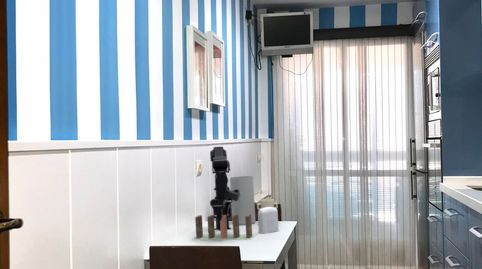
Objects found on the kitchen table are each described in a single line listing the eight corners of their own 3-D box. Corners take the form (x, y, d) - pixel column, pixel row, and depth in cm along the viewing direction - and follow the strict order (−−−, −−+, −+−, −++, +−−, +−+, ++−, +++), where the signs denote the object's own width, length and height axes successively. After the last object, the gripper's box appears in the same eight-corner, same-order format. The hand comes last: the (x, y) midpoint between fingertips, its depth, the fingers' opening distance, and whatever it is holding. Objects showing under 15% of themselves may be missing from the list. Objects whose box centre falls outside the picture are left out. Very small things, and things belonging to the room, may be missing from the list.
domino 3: (233, 238, 231) (232, 216, 232) (236, 236, 236) (235, 214, 236) (236, 238, 231) (235, 216, 231) (239, 236, 236) (238, 214, 236)
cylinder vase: (244, 220, 284) (242, 176, 284) (260, 222, 275) (257, 176, 275) (227, 224, 275) (225, 178, 276) (243, 226, 266) (240, 178, 266)
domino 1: (196, 238, 236) (195, 217, 236) (199, 236, 241) (198, 215, 241) (199, 238, 236) (198, 217, 236) (203, 236, 240) (201, 215, 240)
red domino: (221, 238, 233) (219, 216, 233) (224, 236, 238) (222, 214, 238) (224, 238, 233) (223, 216, 233) (227, 236, 237) (226, 214, 238)
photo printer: (274, 230, 247) (273, 205, 247) (280, 231, 244) (278, 206, 244) (257, 234, 241) (256, 208, 242) (262, 235, 238) (261, 208, 238)
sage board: (191, 241, 232) (190, 240, 232) (200, 235, 245) (200, 234, 245) (250, 241, 225) (250, 239, 225) (256, 235, 238) (256, 234, 238)
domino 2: (208, 238, 234) (207, 216, 235) (211, 236, 239) (210, 215, 239) (211, 238, 234) (210, 216, 234) (215, 236, 239) (213, 215, 239)
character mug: (277, 222, 271) (276, 198, 271) (279, 224, 264) (278, 199, 264) (257, 224, 270) (255, 199, 270) (258, 226, 263) (257, 201, 263)
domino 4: (246, 238, 230) (245, 216, 230) (248, 236, 235) (247, 214, 235) (249, 238, 230) (248, 216, 230) (252, 236, 234) (251, 214, 235)
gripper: (232, 186, 224) (234, 221, 224) (243, 182, 242) (244, 215, 242) (208, 187, 227) (210, 222, 227) (220, 183, 245) (222, 215, 245)
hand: (223, 218), depth 235 cm, fingers open, 9 cm apart
